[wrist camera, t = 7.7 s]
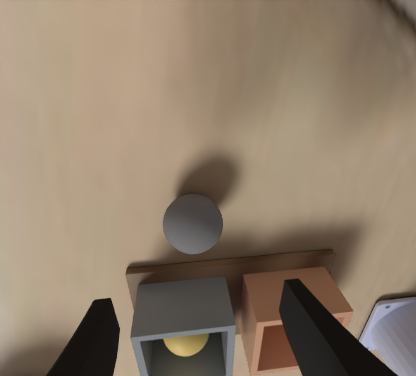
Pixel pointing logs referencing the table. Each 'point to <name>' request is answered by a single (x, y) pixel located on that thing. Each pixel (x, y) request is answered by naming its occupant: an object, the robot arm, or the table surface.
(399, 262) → the table surface
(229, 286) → the board
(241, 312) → the orange open box
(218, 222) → the grey ball
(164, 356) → the grey open box
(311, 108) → the table surface
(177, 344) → the ochre ball
